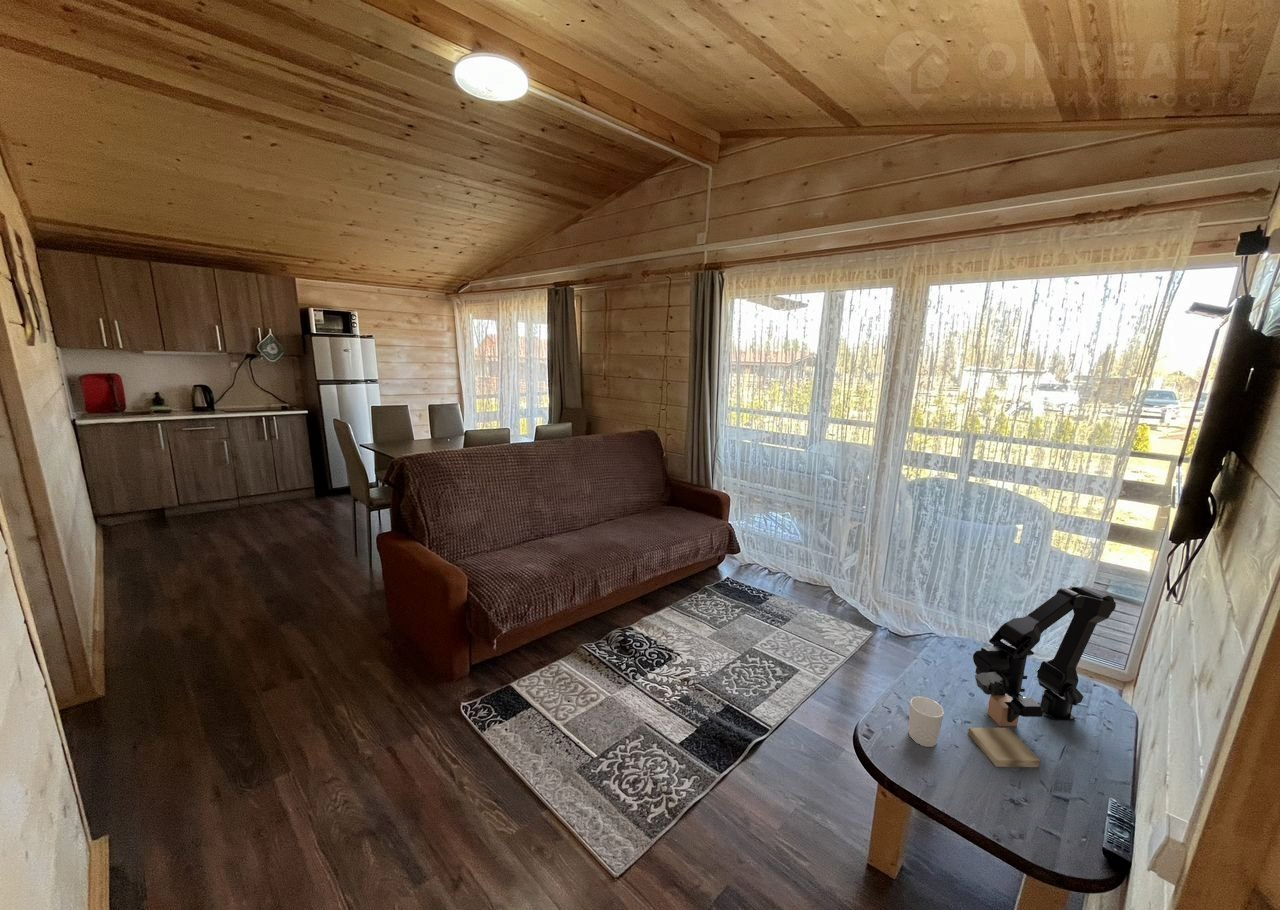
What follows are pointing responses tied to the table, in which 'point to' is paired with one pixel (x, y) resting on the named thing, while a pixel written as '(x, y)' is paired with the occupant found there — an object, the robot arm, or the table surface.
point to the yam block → (1000, 710)
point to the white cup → (925, 721)
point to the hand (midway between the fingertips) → (1002, 714)
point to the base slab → (1003, 747)
